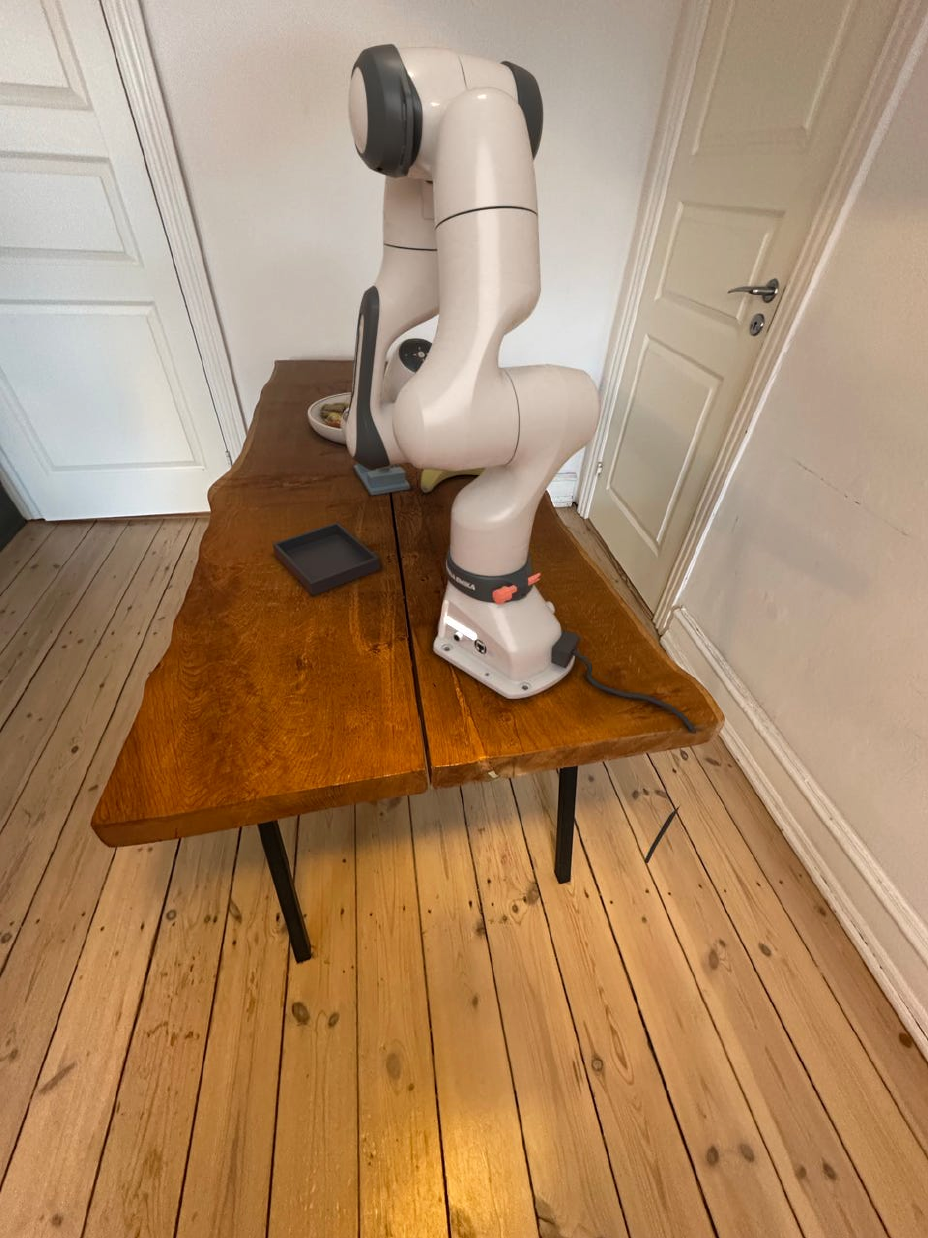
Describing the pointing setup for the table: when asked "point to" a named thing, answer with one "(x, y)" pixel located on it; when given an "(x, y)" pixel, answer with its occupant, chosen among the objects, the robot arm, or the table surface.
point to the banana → (442, 477)
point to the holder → (382, 479)
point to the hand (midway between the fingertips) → (387, 435)
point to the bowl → (329, 416)
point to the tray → (326, 557)
